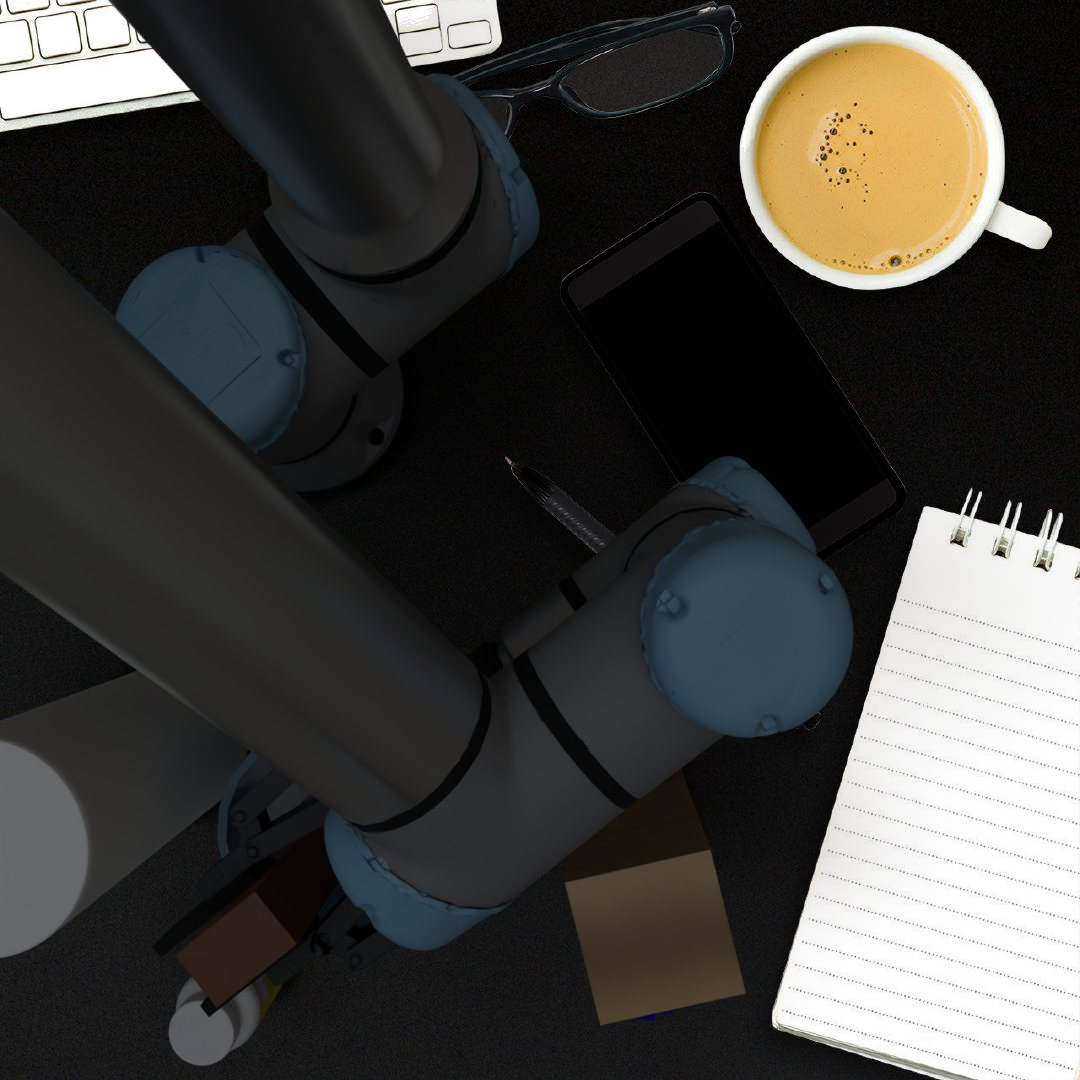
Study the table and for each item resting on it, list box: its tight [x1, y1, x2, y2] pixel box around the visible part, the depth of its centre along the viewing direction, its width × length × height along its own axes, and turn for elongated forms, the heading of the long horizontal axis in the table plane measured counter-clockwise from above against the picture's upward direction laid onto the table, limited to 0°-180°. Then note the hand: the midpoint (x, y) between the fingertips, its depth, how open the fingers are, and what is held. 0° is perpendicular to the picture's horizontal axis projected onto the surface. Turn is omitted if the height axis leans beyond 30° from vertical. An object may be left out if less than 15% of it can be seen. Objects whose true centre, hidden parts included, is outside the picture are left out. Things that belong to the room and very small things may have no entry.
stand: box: [564, 768, 747, 1026], centre depth 64 cm, size 8×8×25 cm
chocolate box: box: [175, 825, 339, 1007], centre depth 51 cm, size 5×3×11 cm, turn 129°
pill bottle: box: [168, 974, 284, 1067], centre depth 73 cm, size 6×6×11 cm
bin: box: [216, 751, 371, 928], centre depth 69 cm, size 14×14×16 cm
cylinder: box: [0, 670, 249, 959], centre depth 66 cm, size 12×12×25 cm
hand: (192, 968), depth 51 cm, fingers closed on chocolate box, 3 cm apart
